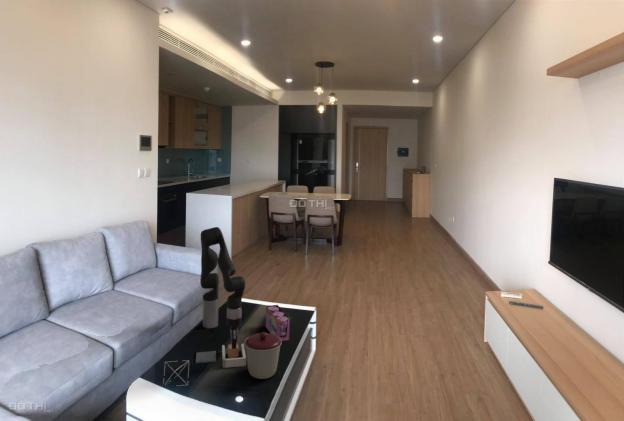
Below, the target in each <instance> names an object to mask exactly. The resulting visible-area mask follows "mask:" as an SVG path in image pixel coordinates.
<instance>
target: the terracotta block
mask: <svg viewBox="0 0 624 421" xmlns="http://www.w3.org/2000/svg"><path fill="white" fill-rule="evenodd" d="M227 346H228V351H227V352H228V359H230V358H239V343H236V349H232V343H231V344H228V345H227Z"/></svg>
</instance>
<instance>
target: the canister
mask: <svg viewBox="0 0 624 421" xmlns="http://www.w3.org/2000/svg"><path fill="white" fill-rule="evenodd" d="M282 343H283V341H282V340H281V339H280V338H279V337H278V336H276V335H273V334H271V333H270V332H269V333H268V332H265V331H262V332H259V333H255V334H251V335H250V336H248V337H246V339H245V340H244V342H243V344H244V347H245V355H246V365H247V370H248V373H249V375H250V376H251V377H252V378H254V379H258V380H267V379H269V378H271V377H273V376H274V375H275V374H276V372H277V368H278V364H279V357H280V350H281V346H282Z"/></svg>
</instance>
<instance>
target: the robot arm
mask: <svg viewBox="0 0 624 421" xmlns="http://www.w3.org/2000/svg"><path fill="white" fill-rule="evenodd" d="M200 245H201V247H200V248H201V255H200V265H201V266H200V267H201V268H200V269H201V270H200V271H201V272H200V282H199V283H200V287H201V288H202V289H208V291H206V292H205V293H203V294H202V327H203V328H204V329H213V328H214V329H215V328H217V327H218V326H219V284H220V281H219V280H220V279H219V278H220V277H219V274H218V272H213V271H214V270H215V269H216V268H217V266H218V269H219V270H220V272H221V275H222V280H223V288H224V290H225V291H226V292H227V293H232V294H230V295H229V296H228V297H227V302H226V303H227V307H226V326H227V327H229V330H230V331H229V332H230V338H231V339H230V341H231V344H232V349H236V344H237V343H238V338H239V337H238V336H239V335H238V333H239V327H241V325H242V324H243V322H242V320H243V316H242V315H243V309H242V299H243V295H244V291H245V288H246V280H245V278H244V277H243V276H241V275H238V276H233V275H235V274H236V267H235V266H234V263H233V260H232V258H231V257H230V254H229V250H228V246H227V243H226V241H225V237H224V234H223V232H222V230H221V228H220V227H217V226H215V227H210V228H205V229H204V230H202V231H201V233H200ZM216 245H219V252H218V254H217V252H216V251H215V250H214V249H212V248H211V247H213V246H216ZM211 272H212V273H211ZM209 289H211V290H209Z"/></svg>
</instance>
